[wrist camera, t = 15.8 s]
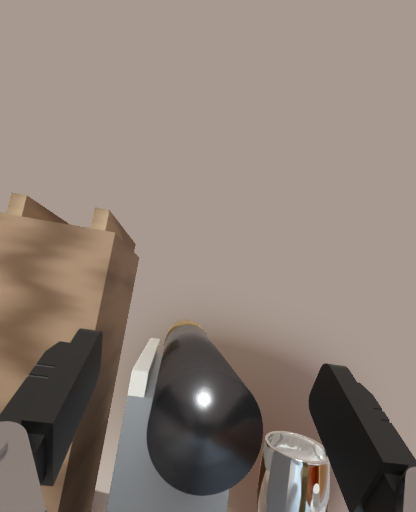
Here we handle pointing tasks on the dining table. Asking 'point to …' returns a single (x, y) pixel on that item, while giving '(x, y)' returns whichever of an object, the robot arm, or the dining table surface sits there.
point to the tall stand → (64, 319)
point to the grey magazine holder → (137, 456)
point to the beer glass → (293, 474)
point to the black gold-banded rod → (201, 416)
